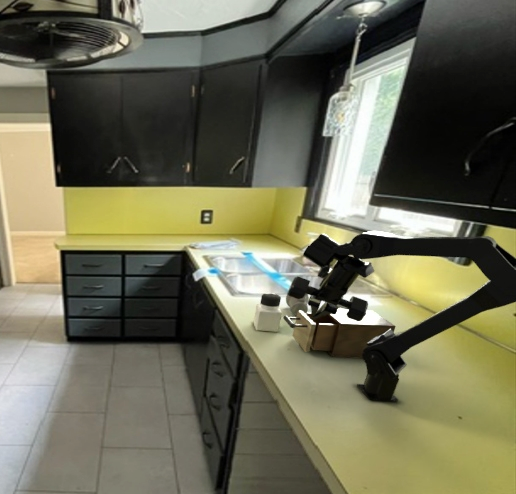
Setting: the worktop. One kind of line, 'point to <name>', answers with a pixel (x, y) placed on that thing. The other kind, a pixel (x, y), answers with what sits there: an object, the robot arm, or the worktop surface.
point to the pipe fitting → (297, 304)
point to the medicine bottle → (268, 313)
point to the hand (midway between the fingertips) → (312, 318)
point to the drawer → (313, 331)
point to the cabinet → (357, 333)
